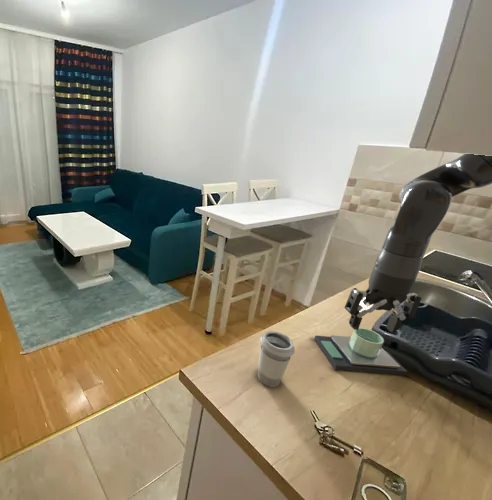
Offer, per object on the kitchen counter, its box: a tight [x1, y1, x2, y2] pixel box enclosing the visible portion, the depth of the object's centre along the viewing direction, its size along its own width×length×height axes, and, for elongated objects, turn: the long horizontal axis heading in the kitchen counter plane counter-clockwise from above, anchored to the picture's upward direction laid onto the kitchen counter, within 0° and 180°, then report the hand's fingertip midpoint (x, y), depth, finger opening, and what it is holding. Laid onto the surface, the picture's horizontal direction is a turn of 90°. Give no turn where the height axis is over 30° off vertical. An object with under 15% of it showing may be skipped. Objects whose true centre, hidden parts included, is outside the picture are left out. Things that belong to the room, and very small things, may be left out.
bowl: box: [349, 327, 385, 357], centre depth 72 cm, size 6×6×4 cm
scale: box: [313, 335, 408, 377], centre depth 74 cm, size 16×11×3 cm
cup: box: [257, 330, 296, 388], centre depth 65 cm, size 7×7×12 cm
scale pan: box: [329, 334, 400, 368], centre depth 73 cm, size 11×10×1 cm
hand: (372, 329), depth 71 cm, fingers open, 8 cm apart
